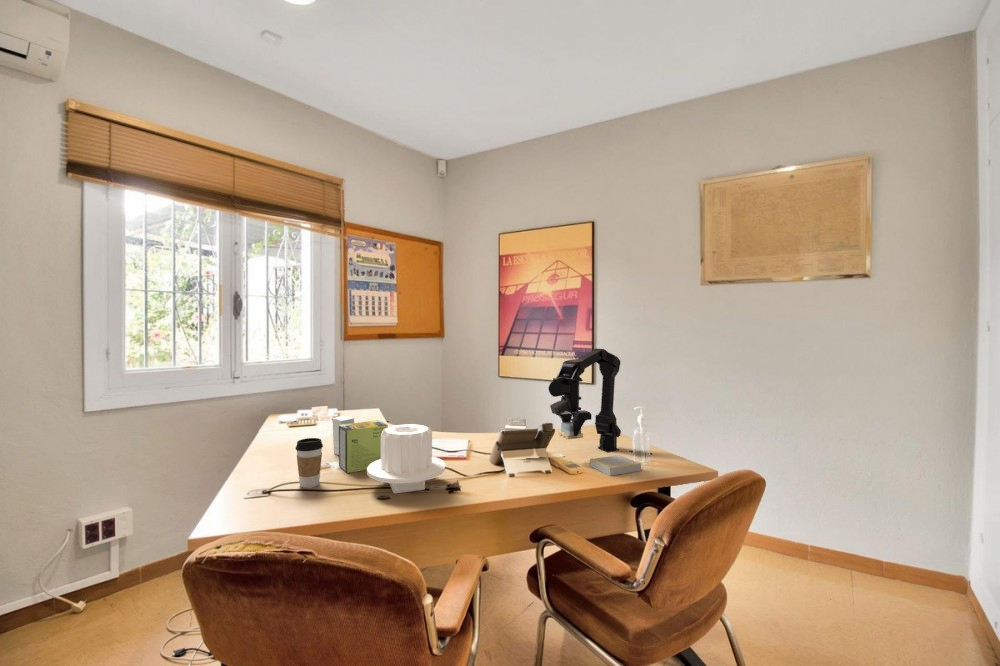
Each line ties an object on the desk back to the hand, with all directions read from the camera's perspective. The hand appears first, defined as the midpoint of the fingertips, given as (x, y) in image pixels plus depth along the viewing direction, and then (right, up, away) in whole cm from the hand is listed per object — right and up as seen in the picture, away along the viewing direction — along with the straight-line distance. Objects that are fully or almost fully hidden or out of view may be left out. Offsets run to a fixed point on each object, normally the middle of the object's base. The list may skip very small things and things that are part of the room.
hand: (571, 434), depth 180 cm
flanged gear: (-58, -12, -27) cm, 65 cm away
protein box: (-78, -11, -6) cm, 79 cm away
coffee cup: (-90, -11, -26) cm, 95 cm away
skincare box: (-90, -10, +8) cm, 91 cm away
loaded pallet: (0, -1, 0) cm, 1 cm away
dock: (+15, -11, -7) cm, 20 cm away
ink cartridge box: (-21, -11, +8) cm, 25 cm away
